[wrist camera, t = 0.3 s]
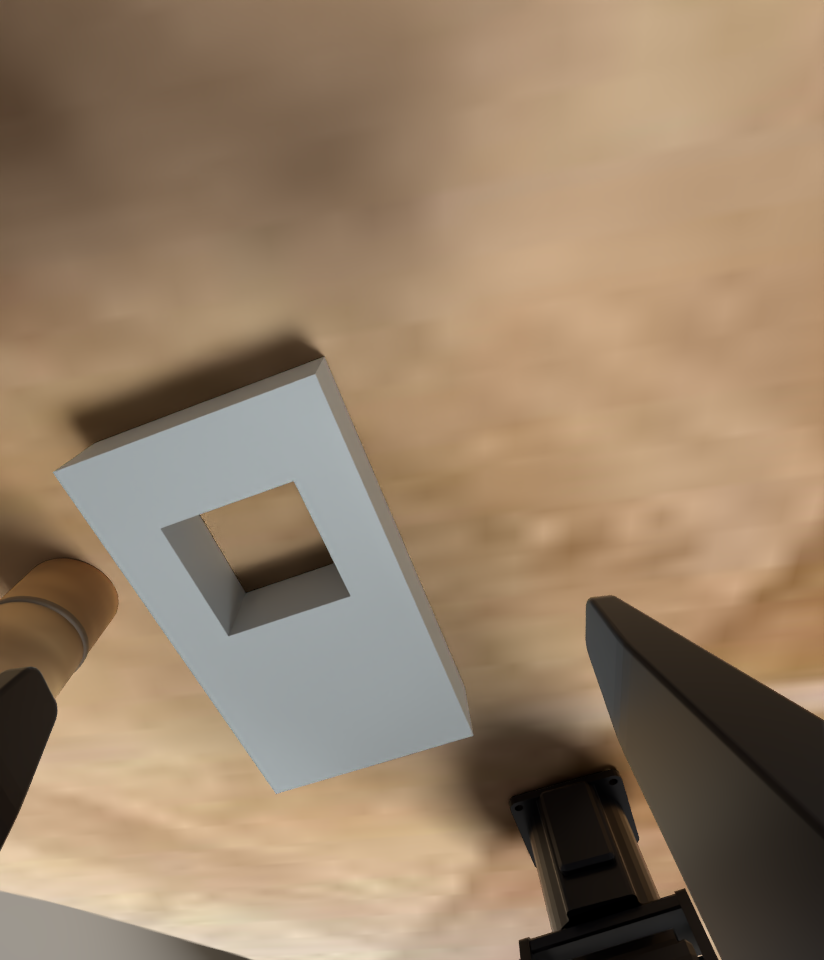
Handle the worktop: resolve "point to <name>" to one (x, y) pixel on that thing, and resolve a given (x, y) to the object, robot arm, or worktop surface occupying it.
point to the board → (289, 603)
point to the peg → (55, 619)
